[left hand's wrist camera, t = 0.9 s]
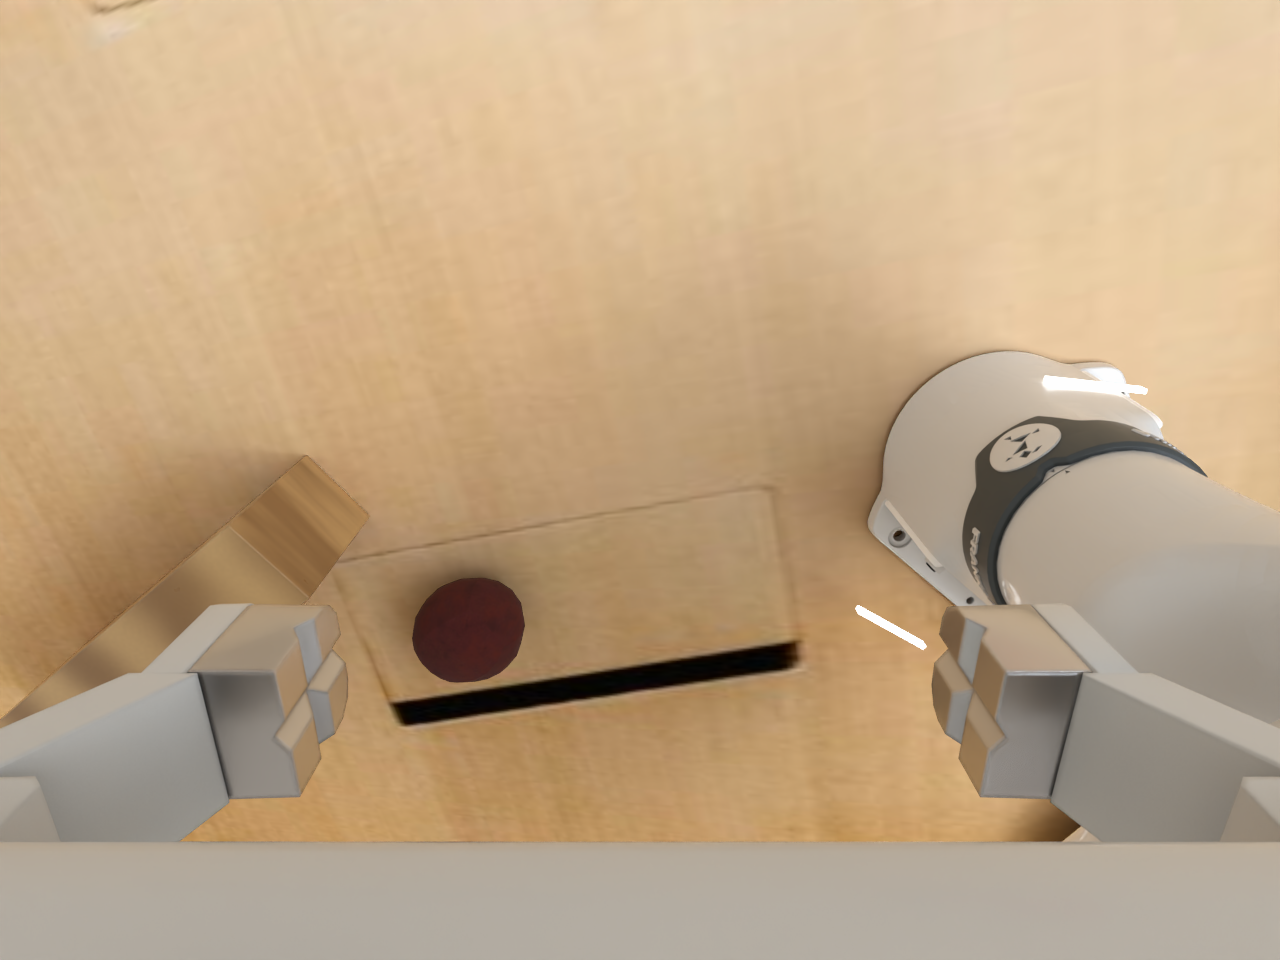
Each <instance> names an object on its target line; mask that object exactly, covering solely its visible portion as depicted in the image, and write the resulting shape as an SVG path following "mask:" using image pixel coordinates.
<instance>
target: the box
mask: <svg viewBox="0 0 1280 960" xmlns="http://www.w3.org/2000/svg"><path fill="white" fill-rule="evenodd" d="M369 517H370V516H369V515H368V514H367V513H366V512H365V511H364V510H363V509H362V508H361V507H360V506H359V505H358V504H357V503H356V502H355V501H354V500H353V499H352V498H351V497H349V496H348V495H347V494H346V493H345V492H344V491H343V490H342V489H341V488H340V487H339V486H338V485H337V484H336V483H335V482H334V481H333V480H332V479H331V478H330V477H329V476H328V475H327V474H326V473H325V472H324V471H323V470H322V469H321V468H320V467H319V466H317V465H316V464H315V463H314V462H313V461H312V460H311V459H310V458H309V457H308V456H307V455H306V456H305V457H303V458H302V459H301V460H300V461H299V462H298V463H296V464H295V465H294V466H293V467H292V468H291V469H289V470H288V471H287V472H286V473H285V474H284V475H282V476H281V477H280V478H279V479H278V480H277V481H275V482H274V483H273V484H272V485H271V486H270V487H268V488H267V489H266V490H265V491H264V492H263V493H261V494H260V495H259V496H258V497H257V498H256V499H254V500H253V501H252V502H251V503H250V504H249V505H247V506H246V507H245V508H244V509H243V510H241V511H240V512H239V513H238V514H237V515H236V516H234V517H233V518H232V519H231V520H230V521H229V522H227V523H226V524H225V525H224V526H223V527H222V528H220V529H219V530H218V531H217V532H216V533H215V534H213V535H212V536H211V537H210V538H209V539H208V540H206V541H205V542H204V543H203V544H202V545H201V546H199V547H198V548H197V549H196V550H195V551H194V552H192V553H191V554H190V555H189V556H188V557H187V558H185V559H184V560H183V561H182V562H181V563H180V564H178V565H177V566H176V567H175V568H174V569H173V570H171V571H170V572H169V573H168V574H167V575H166V576H164V577H163V578H162V579H161V580H160V581H159V582H157V583H156V584H155V585H154V586H153V587H152V588H150V589H149V590H148V591H147V592H146V593H145V594H143V595H142V596H141V597H140V598H139V599H138V600H136V601H135V602H134V603H133V604H132V605H131V606H129V607H128V608H127V609H126V610H125V611H124V612H122V613H121V614H120V615H119V616H118V617H117V618H115V619H114V620H113V621H112V622H111V623H110V624H108V625H107V626H106V627H105V628H104V629H103V630H101V631H100V632H99V633H98V634H97V635H96V636H94V637H93V638H92V639H91V640H90V641H89V642H87V643H86V644H85V645H84V646H83V647H82V648H80V649H79V650H78V651H77V652H76V653H75V654H74V655H72V656H71V657H70V658H69V659H68V660H67V661H66V662H65V663H63V664H62V665H61V666H60V667H59V668H58V669H57V670H55V671H54V672H53V673H52V674H51V675H50V676H49V677H48V678H46V679H45V680H44V681H43V682H42V683H41V684H40V685H38V686H37V687H36V688H35V689H34V690H33V691H32V692H31V693H29V694H28V695H27V696H26V697H25V698H24V699H23V700H21V701H20V702H19V703H18V704H17V705H16V706H15V707H14V708H12V709H11V710H10V711H9V712H8V713H7V714H6V715H4V716H3V717H2V718H1V719H0V728H3V727H5V726H7V725H10V724H12V723H14V722H16V721H19V720H21V719H23V718H26V717H28V716H30V715H33V714H35V713H37V712H40V711H42V710H44V709H46V708H49V707H51V706H53V705H56V704H58V703H60V702H63V701H65V700H67V699H70V698H72V697H74V696H76V695H79V694H81V693H83V692H86V691H88V690H90V689H93V688H95V687H97V686H100V685H102V684H104V683H106V682H109V681H111V680H113V679H116V678H118V677H120V676H123V675H125V674H127V673H141V672H142V671H143V670H145V669H146V668H147V667H148V666H149V665H150V664H151V663H152V662H153V661H154V660H155V659H156V658H157V657H158V656H159V655H160V654H161V653H162V652H163V651H164V650H165V649H166V648H167V647H168V646H169V645H170V644H171V643H172V642H173V641H174V640H175V639H176V638H177V637H178V636H179V635H180V634H181V633H182V632H183V631H184V630H185V629H186V628H187V627H188V626H189V625H190V624H191V623H193V622H194V621H195V620H196V619H197V618H198V617H199V616H200V615H201V614H202V613H203V612H204V611H205V610H206V609H207V608H208V607H209V606H210V605H217V604H240V603H252V604H254V605H255V604H287V605H302V604H303V603H304V602H305V601H307V600H308V599H309V598H310V597H311V595H312V594H313V593H314V591H315V590H316V589H317V587H318V586H319V585H320V583H321V582H322V581H323V579H324V578H325V577H326V575H327V574H328V573H329V571H330V570H331V568H332V567H333V566H334V564H335V563H336V562H337V560H338V559H339V558H340V556H341V555H342V554H343V552H344V551H345V550H346V548H347V547H348V546H349V544H350V543H351V541H352V540H353V539H354V537H355V536H356V535H357V533H358V532H359V531H360V529H361V528H362V527H363V525H364V524H365V523H366V521H367V520H368V519H369Z"/></svg>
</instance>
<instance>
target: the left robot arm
mask: <svg viewBox="0 0 1280 960" xmlns="http://www.w3.org/2000/svg"><path fill="white" fill-rule="evenodd" d="M1129 392H1132V393H1141V394H1146V392H1147V389H1146V388H1144V387H1141V386H1134V385H1127V384H1126V381H1125V377H1124V375H1123V373H1122V372H1121V371H1120V370H1119V369H1117V368H1116V367H1114V366H1113V365H1111V364H1109V363H1105V362H1086V363H1076V364H1065V363H1061V362H1057V361H1054V360H1051V359H1048V358H1045V357H1042V356H1040V355H1036V354H1032V353H1026V352H1018V351H1002V352H992V353H987V354H982V355H978V356H974V357H971V358H968V359H966V360H963V361H961V362H958V363H956V364H954V365H952V366H950V367H949V368H947V369H945V370H943V371H942V372H940V373H939V374H937V375H936V376H934V377H933V378H932V379H930V380H929V381H928V382H927V383H926V384H924V385H923V386H922V387H921V388H920V389H919V390H918V391H917V392H916V393H915V394H914V395H913V396H912V397H911V399H910V400H909V401H908V402H907V404H906V405H905V406H904V408H903V409H902V411H901V412H900V414H899V415H898V417H897V419H896V421H895V423H894V425H893V427H892V429H891V432H890V434H889V437H888V440H887V444H886V448H885V453H884V461H883V481H882V487H881V491H880V493H879V495H878V497H877V499H876V501H875V503H874V505H873V507H872V509H871V512H870V514H869V517H868V528H869V530H870V532H871V533H872V534H873V535H874V536H875V537H876V538H877V539H878V540H879V541H880V542H881V543H883V544H884V545H885V546H886V547H887V548H889V549H890V550H891V551H892V552H893V553H895V554H896V555H897V556H898V557H899V558H900V559H902V560H903V561H904V562H905V563H906V564H908V565H909V566H910V567H911V568H912V569H913V570H915V571H916V572H917V573H918V574H919V575H921V576H922V577H923V578H924V579H925V580H926V581H928V582H929V583H930V584H931V585H932V586H934V587H935V588H936V589H937V590H938V591H939V592H941V593H942V594H943V595H944V596H945V597H947V598H948V599H949V600H950V601H951V602H952V603H954V604H955V605H956V606H951V607H947V609H946V611H945V613H944V615H943V617H942V622H941V627H940V633H939V635H940V636H941V638H942V640H943V641H944V643H945V644H946V646H947V647H948V650H947V651H946V652H945V653H944V654H943V655H942V656H941V657H940V658H939V659H938V660H937V661H936V662H935V663H934V670H933V678H932V695H933V705H934V709H935V712H936V715H937V719H938V721H939V723H940V725H941V727H942V729H943V731H944V733H945V734H946V735H948V736H949V737H951V738H952V739H954V740H955V741H957V742H958V743H960V744H961V748H960V753H959V760H960V762H961V764H962V765H963V767H964V769H965V771H966V773H967V774H968V776H969V778H970V780H971V781H972V783H973V785H974V787H975V789H976V790H977V792H978V794H979V796H980V797H994V798H1031V799H1051V801H1050V802H1051V803H1052V804H1053V805H1055V806H1056V807H1057V808H1059V809H1060V810H1061V811H1062V812H1064V813H1065V814H1066V815H1068V816H1069V817H1070V818H1071V819H1073V820H1074V821H1075V822H1077V823H1078V824H1079V825H1080V826H1081V827H1080V828H1078V829H1077V830H1076V831H1075V832H1073V833H1072V834H1071V835H1070V836H1068V837H1067V838H1066V839H1065V840H1063V841H1062V842H179V841H180V840H182V839H183V838H184V837H186V836H187V835H188V834H189V833H191V832H192V831H193V830H195V829H196V828H197V827H199V826H200V825H201V824H202V823H204V822H205V821H206V820H208V819H209V818H210V817H211V816H213V815H214V814H215V813H217V812H218V811H219V810H221V809H222V808H223V807H224V806H226V805H227V804H228V803H229V799H248V798H284V797H300V796H301V794H302V792H303V790H304V789H305V787H306V785H307V783H308V782H309V780H310V778H311V776H312V774H313V773H314V771H315V769H316V767H317V765H318V764H319V762H320V760H321V753H320V748H319V744H320V743H322V742H323V741H325V740H326V739H328V738H329V737H331V736H332V735H334V734H335V733H336V731H337V729H338V727H339V725H340V723H341V721H342V719H343V716H344V711H345V707H346V703H347V698H348V676H347V669H346V663H345V662H344V661H343V660H342V659H341V658H340V657H339V656H338V655H337V654H336V653H335V652H334V651H333V650H332V647H333V646H334V644H335V643H336V641H337V640H338V638H339V636H340V635H341V633H340V628H339V623H338V618H337V614H336V612H335V611H334V610H333V609H332V608H331V606H330V605H287V604H255V605H254V604H252V603H240V604H217V605H210V606H209V607H208V608H207V609H206V610H205V611H204V612H203V613H202V614H201V615H200V616H199V617H198V618H197V619H196V620H195V621H194V622H193V623H191V624H190V625H189V626H188V627H187V628H186V629H185V630H184V631H183V632H182V633H181V634H180V635H179V636H178V637H177V638H176V639H175V640H174V641H173V642H172V643H171V644H170V645H169V646H168V647H167V648H166V649H165V650H164V651H163V652H162V653H161V654H160V655H159V656H158V657H157V658H156V659H155V660H154V661H153V662H152V663H151V664H150V665H149V666H148V667H147V668H146V669H145V670H143V671H142V672H141V673H127V674H125V675H123V676H120V677H118V678H116V679H113V680H111V681H109V682H106V683H104V684H102V685H100V686H97V687H95V688H93V689H90V690H88V691H86V692H83V693H81V694H79V695H76V696H74V697H72V698H70V699H67V700H65V701H63V702H60V703H58V704H56V705H53V706H51V707H49V708H46V709H44V710H42V711H40V712H37V713H35V714H33V715H30V716H28V717H26V718H23V719H21V720H19V721H16V722H14V723H12V724H10V725H7V726H5V727H3V728H0V960H1280V512H1279V511H1277V510H1275V509H1272V508H1270V507H1268V506H1266V505H1263V504H1261V503H1259V502H1257V501H1254V500H1252V499H1250V498H1248V497H1246V496H1244V495H1242V494H1240V493H1237V492H1235V491H1233V490H1231V489H1229V488H1227V487H1225V486H1223V485H1221V484H1219V483H1217V482H1215V481H1213V480H1211V479H1209V478H1208V477H1207V475H1206V474H1205V473H1204V472H1203V471H1202V469H1201V468H1200V467H1199V466H1198V465H1197V464H1195V463H1194V462H1193V461H1192V460H1191V459H1189V458H1188V457H1187V456H1186V455H1184V454H1183V453H1182V452H1181V451H1179V450H1178V449H1177V448H1176V447H1174V446H1173V445H1171V444H1170V443H1168V442H1167V441H1165V440H1164V438H1163V435H1162V433H1161V430H1160V428H1161V427H1162V425H1163V423H1162V421H1161V420H1160V419H1159V418H1158V417H1157V416H1156V415H1155V414H1154V413H1152V412H1151V411H1149V410H1148V409H1146V408H1145V407H1143V406H1142V405H1140V404H1138V403H1137V402H1135V401H1134V400H1132V399H1130V395H1129ZM899 530H902V533H901V535H899V536H897V537H894V536H893V535H894V533H895V532H896V531H899ZM856 610H857V612H858V614H860V615H862V616H863V617H865V618H867V619H869V620H871V621H872V622H874V623H876V624H878V625H880V626H881V627H883V628H885V629H887V630H889V631H891V632H892V633H894V634H896V635H898V636H900V637H901V638H903V639H905V640H907V641H909V642H910V643H912V644H914V645H916V646H918V647H919V648H921V649H923V650H924V648H925V647H926V645H925V644H924V642H923V641H922V640H920V639H918V638H916V637H915V636H913V635H911V634H909V633H907V632H906V631H904V630H902V629H900V628H898V627H897V626H895V625H893V624H891V623H889V622H888V621H886V620H884V619H882V618H880V617H879V616H877V615H875V614H873V613H871V612H870V611H868V610H866V609H864V608H862V607H861V606H859V605H858V606H857V607H856Z"/></svg>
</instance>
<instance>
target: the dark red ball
mask: <svg viewBox="0 0 1280 960" xmlns="http://www.w3.org/2000/svg"><path fill="white" fill-rule="evenodd" d="M524 627H525V624H524V617H523V612H522V607H521V602H520V601H519V599H518V598H517V597H516V595H515V594H514V592H513V591H512V590H511V589H510V588H508V587H507V586H505V585H503V584H502V583H500V582H499V581H495V580H490V579H486V578H470V579H460V580H457V581H454V582H452V583H449V584H446V585H444V586H442V587H440V588H439V589H437V590H436V591H435V592H434V593H433V594H432V595H431V596H430V597H429V598H428V599H427V600H426V601H425V603H424V604H423V606H422V607H421V609H420V611H419V612H418V614H417V616H416V618H415V624H414V630H413V637H412V640H413V646H414V650H415V652H416V654H417V656H418V658H419V660H420V661H421V663H422V664H423V665H424V666H425V667H426V668H427V669H428V670H429V671H430V672H431V673H433V674H434V675H436V676H437V677H439V678H441V679H443V680H446V681H449V682H475V681H480V680H485V679H488V678H490V677H492V676H494V675H497V674H499V673H500V672H501V671H503V670H504V669H505V668H506V667H507V666H508V665H509V664H510V663H511V662H512V661H513V659H514V658H515V657H516V656H517V653H518V650H519V647H520V644H521V640H522V636H523V631H524Z"/></svg>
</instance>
